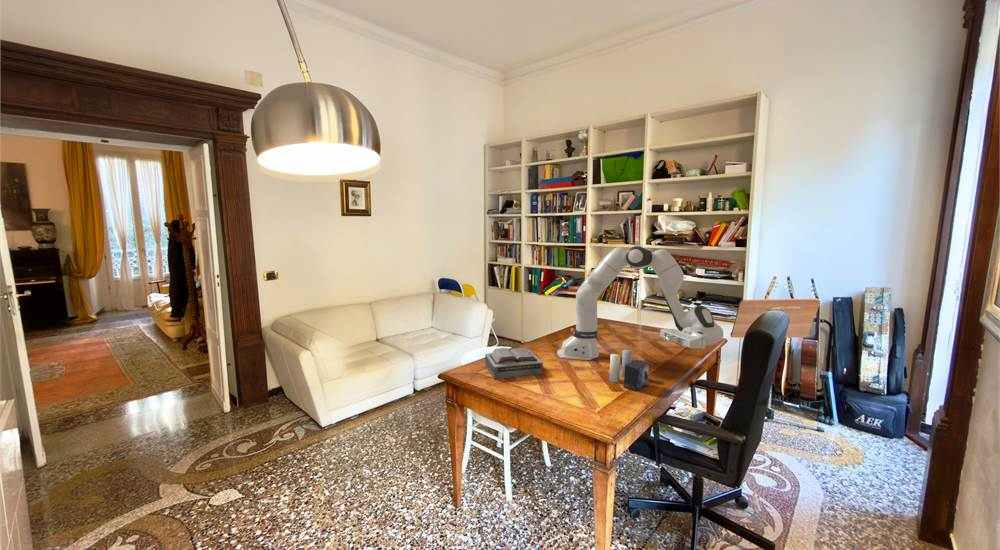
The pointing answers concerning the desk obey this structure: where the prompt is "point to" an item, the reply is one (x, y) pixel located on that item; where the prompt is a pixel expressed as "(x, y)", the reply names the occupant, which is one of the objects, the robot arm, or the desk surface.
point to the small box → (636, 375)
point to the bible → (512, 363)
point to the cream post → (614, 368)
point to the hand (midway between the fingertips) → (665, 339)
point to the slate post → (626, 359)
